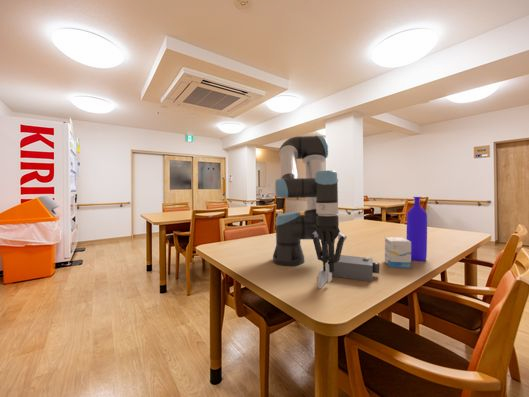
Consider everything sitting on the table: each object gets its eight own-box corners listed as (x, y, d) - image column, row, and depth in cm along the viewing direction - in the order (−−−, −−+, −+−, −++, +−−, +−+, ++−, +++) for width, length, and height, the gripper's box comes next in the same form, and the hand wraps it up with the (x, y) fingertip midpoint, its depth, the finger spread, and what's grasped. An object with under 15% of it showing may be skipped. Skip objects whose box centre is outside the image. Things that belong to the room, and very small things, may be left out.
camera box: (328, 275, 94) (328, 258, 94) (332, 267, 104) (332, 252, 103) (379, 282, 87) (379, 264, 86) (379, 273, 96) (379, 256, 95)
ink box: (411, 268, 101) (412, 241, 101) (390, 267, 103) (390, 240, 102) (404, 262, 110) (404, 237, 109) (384, 261, 111) (384, 236, 111)
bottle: (427, 262, 108) (428, 197, 107) (406, 259, 113) (406, 197, 111) (426, 257, 115) (427, 196, 114) (406, 255, 120) (407, 196, 118)
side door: (326, 275, 94) (326, 261, 94) (331, 276, 94) (331, 261, 93) (316, 288, 83) (316, 271, 82) (321, 289, 82) (321, 272, 82)
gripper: (306, 215, 84) (307, 280, 85) (340, 216, 76) (342, 288, 77) (315, 213, 90) (317, 274, 91) (348, 214, 82) (350, 281, 83)
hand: (328, 280), depth 84 cm, fingers closed
